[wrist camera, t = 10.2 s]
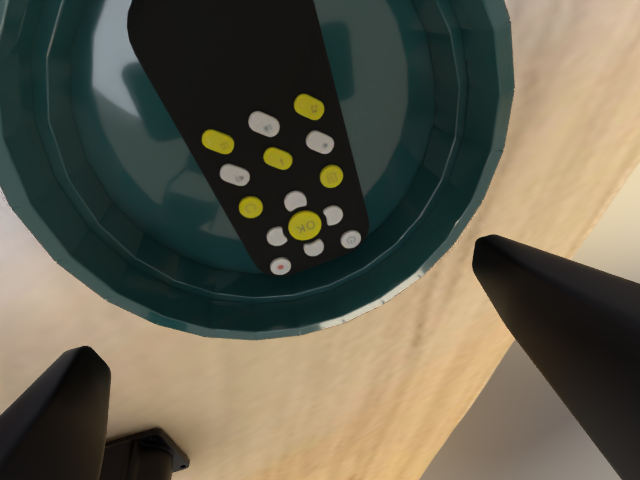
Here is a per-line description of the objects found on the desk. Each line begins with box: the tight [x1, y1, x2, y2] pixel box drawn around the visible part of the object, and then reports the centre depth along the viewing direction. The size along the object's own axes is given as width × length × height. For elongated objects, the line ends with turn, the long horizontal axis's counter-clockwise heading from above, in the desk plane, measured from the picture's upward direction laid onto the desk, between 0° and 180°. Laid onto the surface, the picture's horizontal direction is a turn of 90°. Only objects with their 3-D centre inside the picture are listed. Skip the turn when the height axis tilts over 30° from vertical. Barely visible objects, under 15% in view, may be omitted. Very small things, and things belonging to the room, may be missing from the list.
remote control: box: [127, 0, 370, 277], centre depth 14 cm, size 6×13×2 cm, turn 17°
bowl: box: [0, 0, 515, 340], centre depth 14 cm, size 17×17×4 cm
